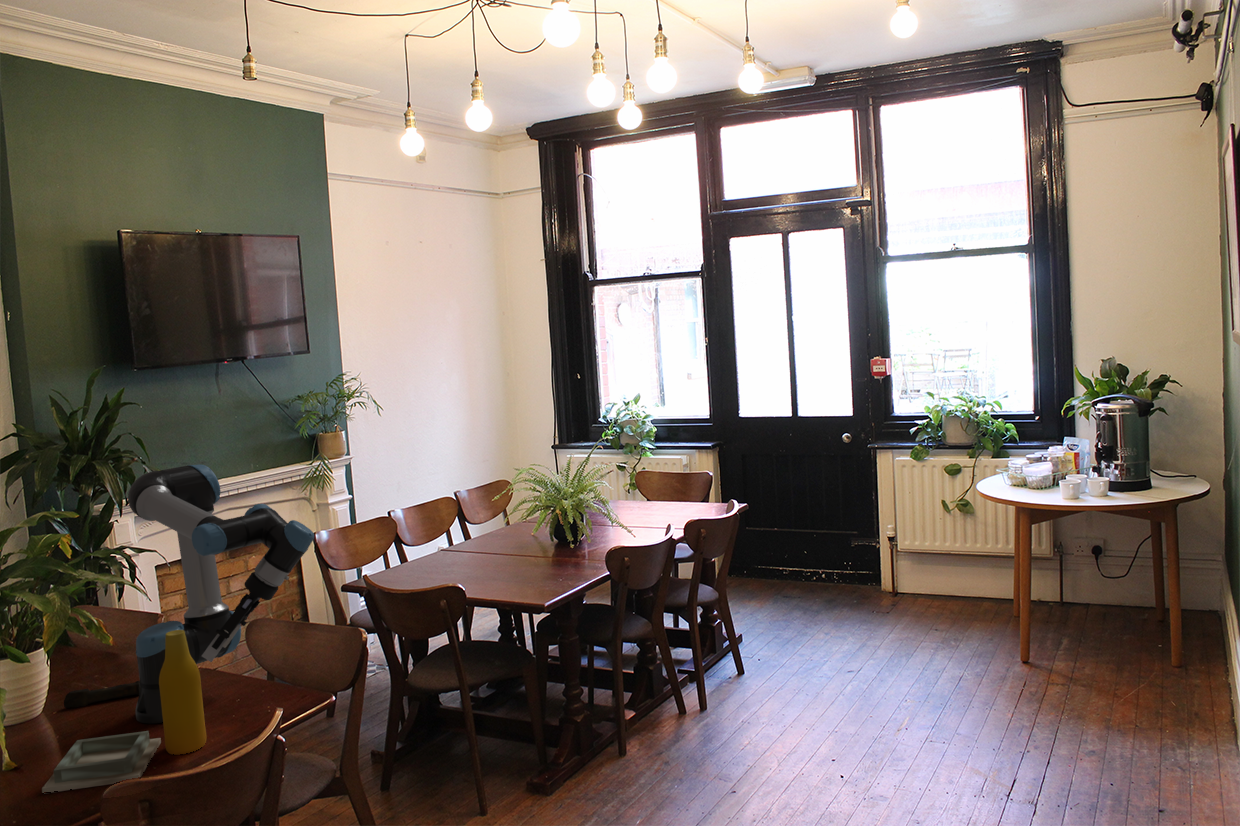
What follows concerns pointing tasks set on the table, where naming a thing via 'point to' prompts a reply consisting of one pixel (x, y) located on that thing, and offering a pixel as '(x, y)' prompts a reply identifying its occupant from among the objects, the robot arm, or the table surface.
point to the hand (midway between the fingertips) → (213, 651)
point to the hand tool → (100, 694)
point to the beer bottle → (181, 697)
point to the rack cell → (103, 761)
